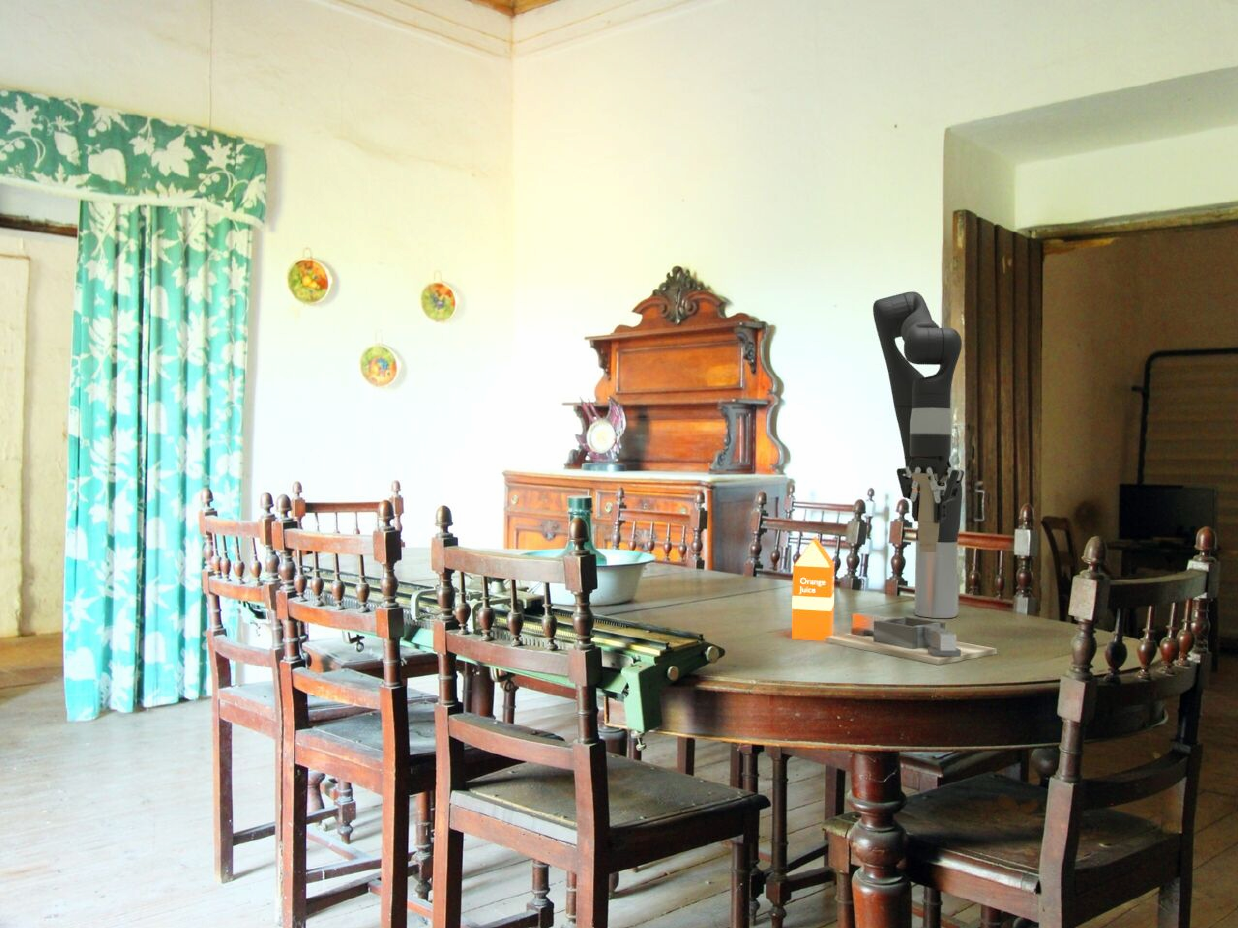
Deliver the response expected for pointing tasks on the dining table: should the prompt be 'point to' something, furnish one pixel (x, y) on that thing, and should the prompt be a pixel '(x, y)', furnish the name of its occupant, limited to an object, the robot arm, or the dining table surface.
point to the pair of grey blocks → (932, 635)
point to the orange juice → (813, 594)
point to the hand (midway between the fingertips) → (928, 521)
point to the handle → (927, 513)
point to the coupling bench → (907, 641)
